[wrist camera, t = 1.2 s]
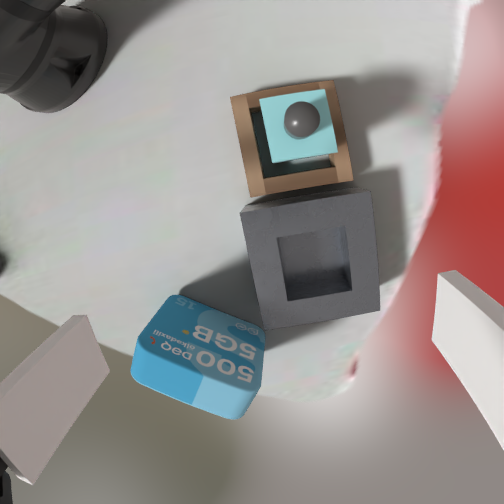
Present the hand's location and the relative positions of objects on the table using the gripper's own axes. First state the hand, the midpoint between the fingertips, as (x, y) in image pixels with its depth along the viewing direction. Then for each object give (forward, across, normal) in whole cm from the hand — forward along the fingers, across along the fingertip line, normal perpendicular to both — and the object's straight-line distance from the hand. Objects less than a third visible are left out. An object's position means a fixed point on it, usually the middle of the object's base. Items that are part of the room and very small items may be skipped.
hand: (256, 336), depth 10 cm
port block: (+23, +4, -4) cm, 24 cm away
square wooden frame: (+24, +3, +8) cm, 25 cm away
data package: (+24, -9, -12) cm, 28 cm away
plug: (+24, +3, +8) cm, 25 cm away
